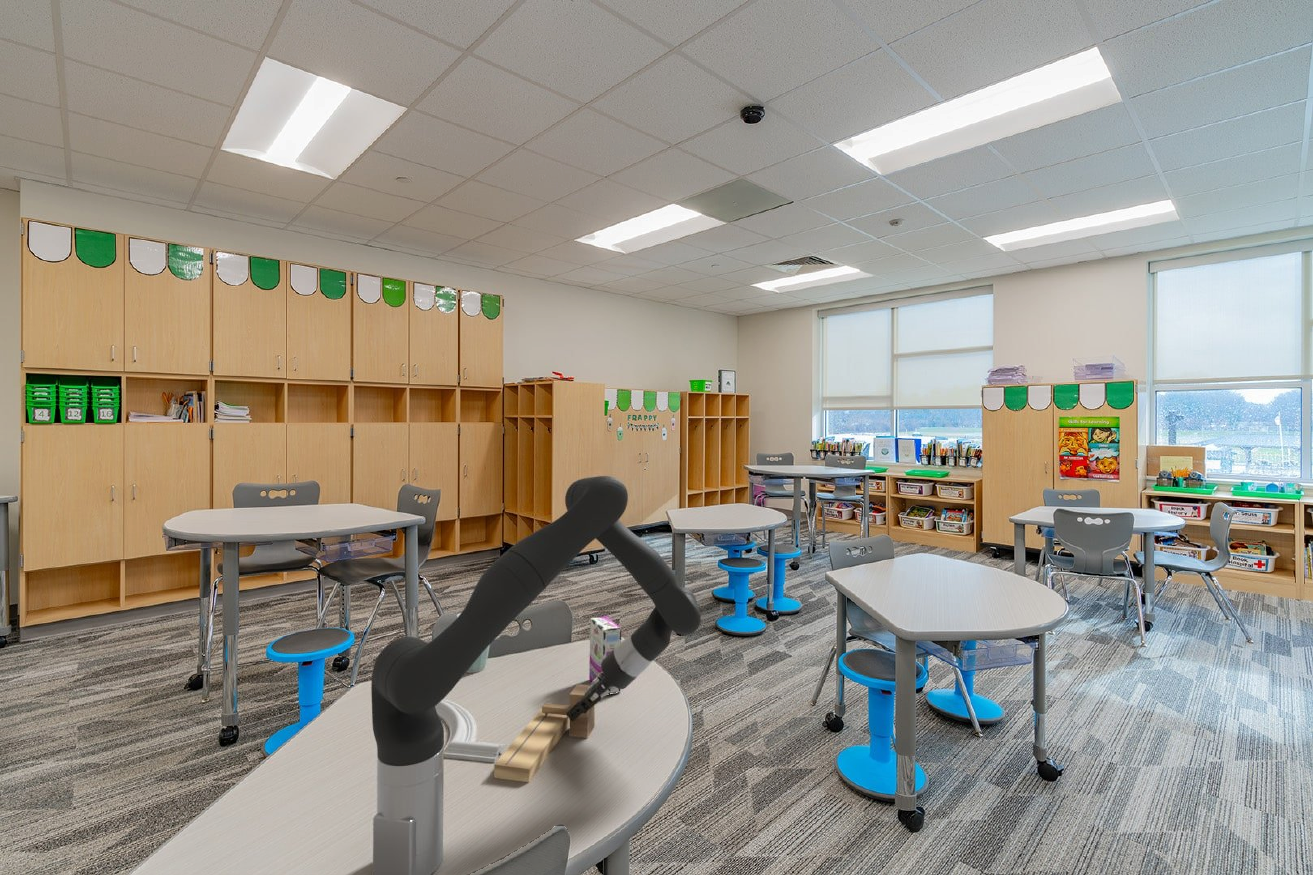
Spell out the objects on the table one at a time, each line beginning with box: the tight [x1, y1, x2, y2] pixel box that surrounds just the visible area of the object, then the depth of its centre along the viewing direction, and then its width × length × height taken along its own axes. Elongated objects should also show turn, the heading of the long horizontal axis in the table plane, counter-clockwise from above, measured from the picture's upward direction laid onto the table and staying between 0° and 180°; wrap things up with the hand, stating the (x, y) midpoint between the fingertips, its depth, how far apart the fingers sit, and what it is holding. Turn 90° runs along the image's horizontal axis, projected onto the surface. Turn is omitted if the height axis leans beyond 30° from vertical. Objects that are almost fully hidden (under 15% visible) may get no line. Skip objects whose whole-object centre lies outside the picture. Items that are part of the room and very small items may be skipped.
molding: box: [435, 685, 507, 764], centre depth 132 cm, size 42×12×3 cm, turn 36°
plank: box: [493, 708, 570, 783], centre depth 122 cm, size 24×7×3 cm, turn 169°
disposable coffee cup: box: [453, 612, 491, 674], centre depth 161 cm, size 11×11×15 cm
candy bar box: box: [588, 616, 622, 694], centre depth 151 cm, size 11×5×16 cm, turn 25°
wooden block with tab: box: [541, 684, 596, 739], centre depth 129 cm, size 5×11×9 cm, turn 79°
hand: (574, 711), depth 129 cm, fingers closed on wooden block with tab, 5 cm apart
